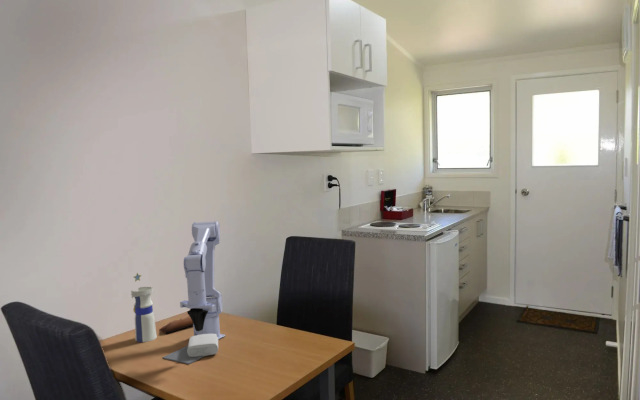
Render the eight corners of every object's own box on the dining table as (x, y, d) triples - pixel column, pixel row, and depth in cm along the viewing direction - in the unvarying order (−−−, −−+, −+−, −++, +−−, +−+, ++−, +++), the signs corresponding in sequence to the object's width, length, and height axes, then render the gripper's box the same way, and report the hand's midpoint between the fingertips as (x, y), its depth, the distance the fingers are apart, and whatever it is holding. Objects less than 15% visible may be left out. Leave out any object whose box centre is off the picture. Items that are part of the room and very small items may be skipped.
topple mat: (162, 358, 160) (162, 357, 160) (188, 346, 170) (188, 345, 170) (189, 364, 154) (189, 363, 154) (214, 351, 164) (214, 350, 164)
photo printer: (186, 346, 157) (189, 333, 169) (187, 358, 158) (189, 345, 170) (217, 342, 159) (218, 330, 171) (218, 354, 160) (218, 342, 172)
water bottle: (128, 341, 178) (123, 276, 177) (144, 334, 186) (140, 271, 184) (146, 343, 175) (140, 277, 173) (161, 335, 183) (156, 272, 181)
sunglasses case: (197, 318, 202) (200, 307, 199) (205, 330, 198) (208, 318, 195) (157, 330, 190) (159, 317, 187) (164, 342, 186) (166, 330, 183)
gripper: (172, 291, 158) (175, 331, 159) (204, 295, 150) (206, 336, 151) (187, 286, 164) (190, 324, 165) (219, 289, 157) (221, 329, 157)
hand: (199, 330), depth 158 cm, fingers closed
